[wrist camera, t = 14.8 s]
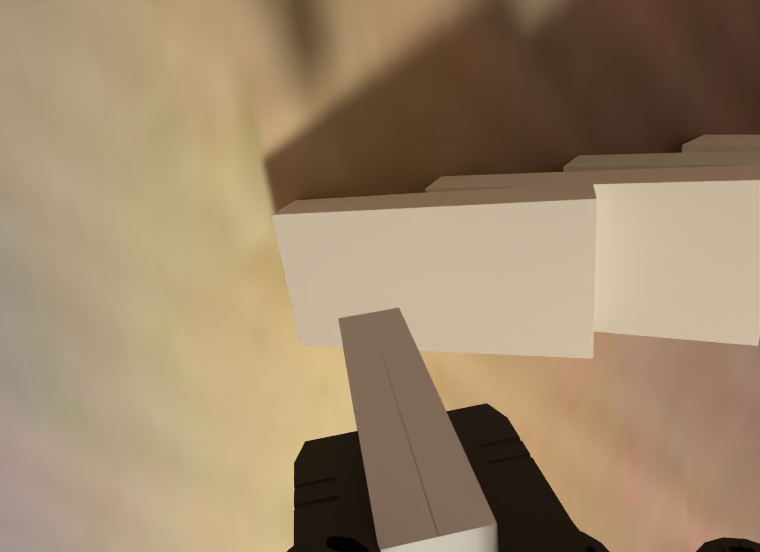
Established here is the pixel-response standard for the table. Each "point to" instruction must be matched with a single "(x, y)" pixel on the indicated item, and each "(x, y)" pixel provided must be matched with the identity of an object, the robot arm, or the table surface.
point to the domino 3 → (722, 143)
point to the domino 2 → (666, 248)
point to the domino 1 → (448, 267)
